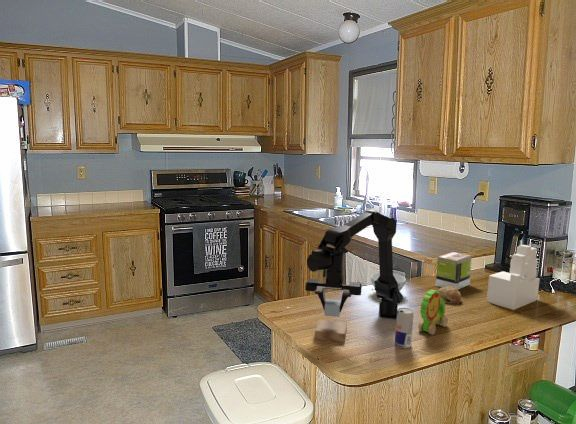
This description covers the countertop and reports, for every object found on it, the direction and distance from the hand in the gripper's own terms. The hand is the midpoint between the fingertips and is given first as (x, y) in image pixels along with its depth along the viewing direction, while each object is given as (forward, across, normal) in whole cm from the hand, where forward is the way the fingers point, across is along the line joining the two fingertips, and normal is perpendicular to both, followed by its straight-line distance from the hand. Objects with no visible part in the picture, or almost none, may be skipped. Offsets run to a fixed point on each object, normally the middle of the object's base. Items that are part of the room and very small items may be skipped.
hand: (332, 310), depth 156 cm
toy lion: (+9, -35, -14) cm, 39 cm away
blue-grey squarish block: (+1, 0, 0) cm, 1 cm away
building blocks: (+9, -73, -56) cm, 93 cm away
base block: (+9, 0, 0) cm, 9 cm away
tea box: (+9, -51, -71) cm, 88 cm away
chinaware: (+9, -20, -49) cm, 54 cm away
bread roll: (+9, -46, -49) cm, 68 cm away
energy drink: (+9, -24, +2) cm, 26 cm away
